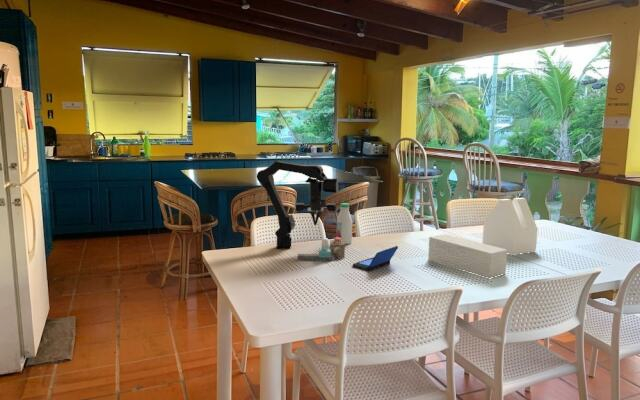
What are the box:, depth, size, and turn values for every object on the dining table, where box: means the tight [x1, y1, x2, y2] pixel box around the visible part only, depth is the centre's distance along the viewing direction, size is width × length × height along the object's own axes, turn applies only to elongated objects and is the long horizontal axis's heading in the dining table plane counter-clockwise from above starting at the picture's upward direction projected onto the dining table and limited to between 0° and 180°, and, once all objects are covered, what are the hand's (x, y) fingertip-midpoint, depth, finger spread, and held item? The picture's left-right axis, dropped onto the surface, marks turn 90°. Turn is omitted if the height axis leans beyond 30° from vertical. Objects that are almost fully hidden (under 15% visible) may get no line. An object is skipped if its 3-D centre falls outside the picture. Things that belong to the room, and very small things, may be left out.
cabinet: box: [329, 239, 346, 259], centre depth 227 cm, size 6×8×6 cm
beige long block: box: [427, 233, 508, 278], centre depth 212 cm, size 32×11×11 cm, turn 36°
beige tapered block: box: [481, 197, 539, 256], centre depth 241 cm, size 19×15×25 cm
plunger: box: [333, 237, 341, 243], centre depth 226 cm, size 3×3×5 cm
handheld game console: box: [352, 245, 399, 272], centre depth 210 cm, size 16×13×9 cm
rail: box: [297, 253, 335, 261], centre depth 220 cm, size 16×3×2 cm, turn 92°
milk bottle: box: [335, 202, 353, 245], centre depth 249 cm, size 8×8×20 cm
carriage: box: [318, 237, 331, 257], centre depth 219 cm, size 5×5×8 cm
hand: (315, 225), depth 234 cm, fingers closed
